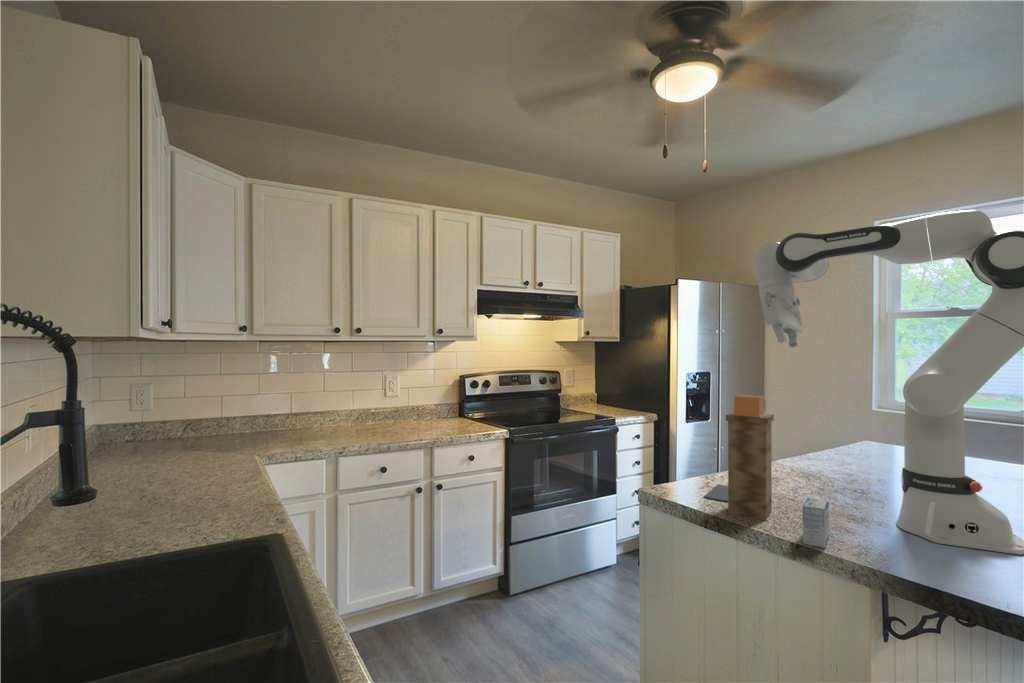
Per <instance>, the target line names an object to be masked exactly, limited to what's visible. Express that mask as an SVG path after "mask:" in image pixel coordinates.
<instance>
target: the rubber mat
mask: <svg viewBox="0 0 1024 683" xmlns="http://www.w3.org/2000/svg"><path fill="white" fill-rule="evenodd" d="M703 499H707V500H712V499H713V501H718V500H719V502H723V501H724V503H728V485H725V484H720V483H719V484H717V485H716V486H714V487H713V488H712V489H711V490H709V492H707V493H706V494H705V495H704V496H703Z"/></svg>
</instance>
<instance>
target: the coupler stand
mask: <svg viewBox="0 0 1024 683" xmlns="http://www.w3.org/2000/svg"><path fill="white" fill-rule="evenodd" d="M774 420H775V414H772V413H771V414H770V413H764V415H763V416H761V417H746V416H734V411H732V412H730V413H728V414H726V415H725V422H727V424H728V426H727V427H728V428H727V432H728V433H727V435H728V436H727V438H728V439H727V447H728V449H727V450H728V451H727V452H728V453H727V464H728V466H727V468H728V469H727V473H728V474H727V475H728V477H727V479H728V481H727V484H728V485H727V486H728V502H727V505H728V507H727V511H728V512H727V513H728V514H731V515H736V516H742V517H746V518H751V519H756V520H760V521H761V520H762V521H767V520H768V518H769V517H770V516H771V514H772V512H773V511H772V510H773V509H772V506H773V504H772V503H773V500H772V498H773V497H772V493H773V492H772V491H773V489H772V486H773V485H772V482H773V481H772V475H773V474H772V458H773V457H772V452H773V451H772V450H773V449H772V447H773V446H772V423H773V421H774ZM770 513H771V514H770Z"/></svg>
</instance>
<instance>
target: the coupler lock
mask: <svg viewBox="0 0 1024 683" xmlns="http://www.w3.org/2000/svg"><path fill="white" fill-rule="evenodd" d="M733 398H734V399H733V406H734V407H733V412H734V416H746V417H761V416H763V415H764V414H765V411H766V399H764V398H765V397H764V395H751V394H749V395H748V394H738V395H735V396H734V397H733Z"/></svg>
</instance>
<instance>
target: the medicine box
mask: <svg viewBox="0 0 1024 683" xmlns="http://www.w3.org/2000/svg"><path fill="white" fill-rule="evenodd" d="M829 510H830V509H829V501H828V500H825V499H820V498H813V497H811V498H809V497H807V498H806V500H805V502H804V504H803V506H802V510H801V511H802V512H801V513H802V514H801V515H802V519H801V520H802V543H803V545H807V546H813V547H817V548H821V549H826V548H827V545H828V541H829V536H830V533H829V532H830V528H829V527H830V524H829V522H830V521H829V518H830V515H829V513H830V512H829Z"/></svg>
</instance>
